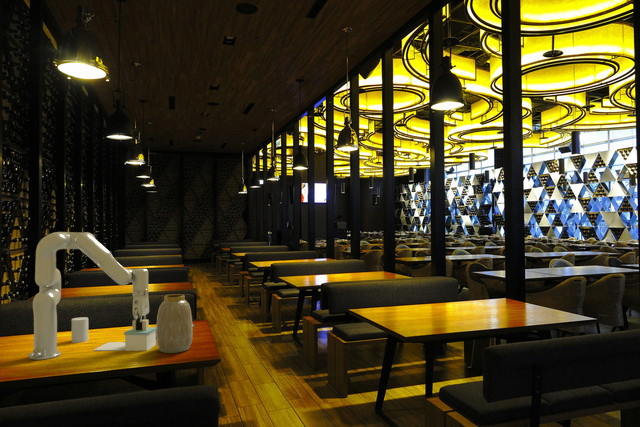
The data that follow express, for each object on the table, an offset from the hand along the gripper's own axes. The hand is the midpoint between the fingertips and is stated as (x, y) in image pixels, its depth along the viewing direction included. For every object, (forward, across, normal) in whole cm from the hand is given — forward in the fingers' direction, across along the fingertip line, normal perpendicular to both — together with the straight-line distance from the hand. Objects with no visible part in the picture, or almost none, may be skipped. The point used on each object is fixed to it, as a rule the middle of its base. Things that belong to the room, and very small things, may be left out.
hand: (140, 328), depth 236 cm
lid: (+3, 0, 0) cm, 3 cm away
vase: (+10, -4, -19) cm, 22 cm away
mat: (+10, +2, +14) cm, 17 cm away
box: (+10, 0, 0) cm, 10 cm away
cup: (+10, +15, +40) cm, 44 cm away
